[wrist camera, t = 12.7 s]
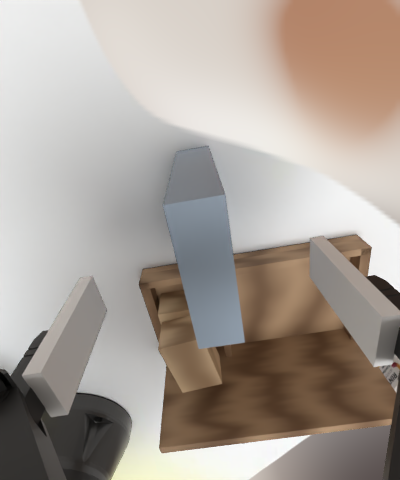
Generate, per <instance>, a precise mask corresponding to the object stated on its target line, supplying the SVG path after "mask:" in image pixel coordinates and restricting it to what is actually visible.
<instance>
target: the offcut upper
mask: <svg viewBox="0 0 400 480" xmlns="http://www.w3.org/2000/svg"><path fill="white" fill-rule="evenodd" d="M158 350H159V352H160V354H161V355H162V357H163V359H164V361H165V362H166V364H167V366H168V368H169V370H170V371H171V373H172V375H173V377H174V378H175V380H176V382H177V384H178V385H179V387H180V389H181V391H182V393H185V392H189V391H193V390H198V389H202V388H206V387H211V386H215V385H219V384H222V375H221V366H220V356H219V354H218V351H217V349H216V347H210V348H203V349H199V348H198V344H197V340H196V336H195V332H194V328H193V324H192V320H191V316H190V315H188V316H185V317H181V318H177V319H173V320H170V321H166V322H162V324H161V332H160V339H159V347H158Z"/></svg>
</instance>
